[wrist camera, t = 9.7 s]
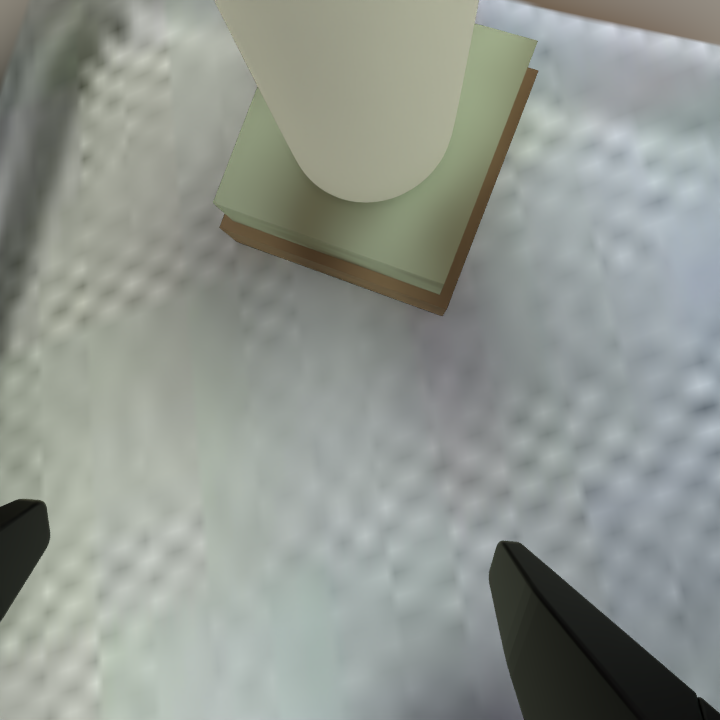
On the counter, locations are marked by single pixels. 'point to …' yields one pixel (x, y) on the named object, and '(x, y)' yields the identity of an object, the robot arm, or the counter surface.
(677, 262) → the counter surface
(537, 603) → the robot arm
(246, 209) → the tower base
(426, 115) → the can
